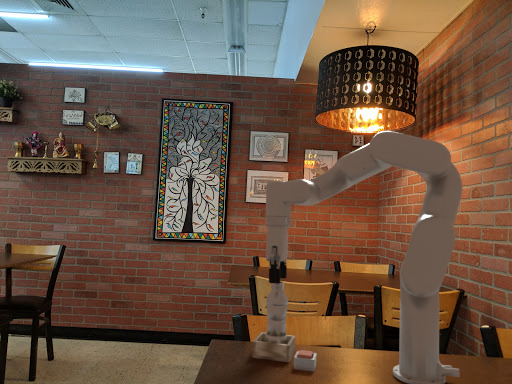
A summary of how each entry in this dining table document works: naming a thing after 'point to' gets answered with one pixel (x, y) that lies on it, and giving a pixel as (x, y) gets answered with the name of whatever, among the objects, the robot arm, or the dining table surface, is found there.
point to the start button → (305, 354)
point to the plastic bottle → (276, 314)
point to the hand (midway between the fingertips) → (278, 280)
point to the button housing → (305, 363)
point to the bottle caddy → (273, 349)
